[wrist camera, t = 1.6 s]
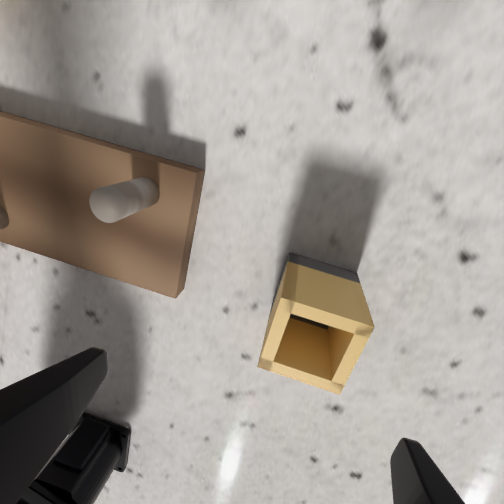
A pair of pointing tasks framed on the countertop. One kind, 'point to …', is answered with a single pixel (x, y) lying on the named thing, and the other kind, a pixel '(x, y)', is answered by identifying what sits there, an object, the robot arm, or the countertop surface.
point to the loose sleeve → (316, 324)
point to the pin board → (66, 209)
